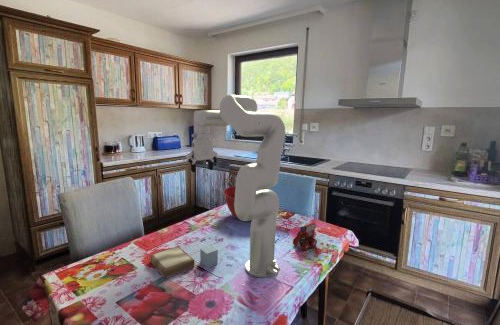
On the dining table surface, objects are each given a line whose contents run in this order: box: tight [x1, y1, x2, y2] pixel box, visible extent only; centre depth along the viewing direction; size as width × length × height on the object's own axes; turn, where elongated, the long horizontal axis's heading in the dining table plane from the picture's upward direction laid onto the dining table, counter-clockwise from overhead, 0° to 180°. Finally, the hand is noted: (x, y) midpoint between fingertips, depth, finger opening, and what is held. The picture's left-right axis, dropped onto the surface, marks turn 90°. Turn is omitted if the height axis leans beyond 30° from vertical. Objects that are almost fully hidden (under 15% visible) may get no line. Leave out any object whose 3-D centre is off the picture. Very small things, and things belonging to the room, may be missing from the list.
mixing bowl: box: [222, 185, 268, 221], centre depth 154 cm, size 28×28×15 cm
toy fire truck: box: [292, 222, 318, 251], centre depth 120 cm, size 7×12×10 cm, turn 128°
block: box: [199, 244, 219, 268], centre depth 105 cm, size 5×5×6 cm
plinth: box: [149, 245, 195, 279], centre depth 104 cm, size 14×12×3 cm
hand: (202, 170), depth 131 cm, fingers open, 9 cm apart
